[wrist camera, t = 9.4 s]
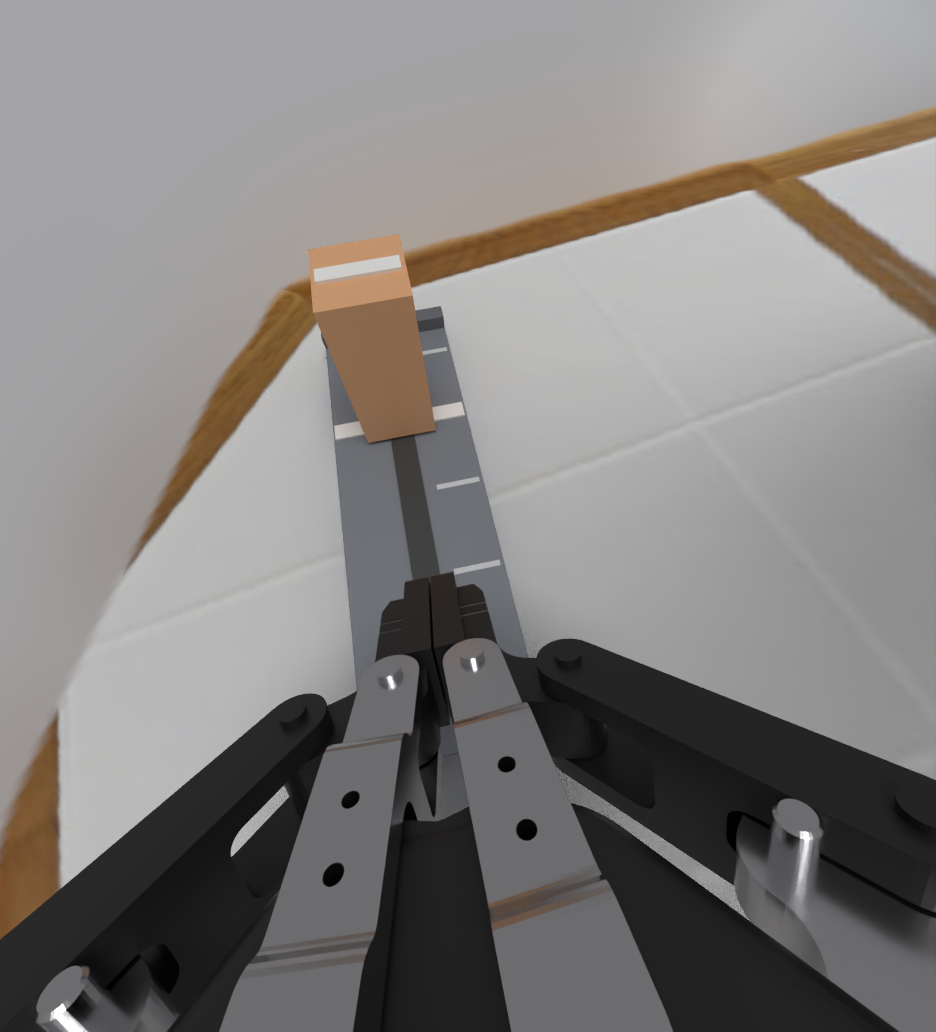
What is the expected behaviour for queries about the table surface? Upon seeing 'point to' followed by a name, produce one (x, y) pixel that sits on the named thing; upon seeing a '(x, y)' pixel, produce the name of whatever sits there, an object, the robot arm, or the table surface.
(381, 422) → the fader tab
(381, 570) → the fader rail
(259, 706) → the table surface
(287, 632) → the table surface
